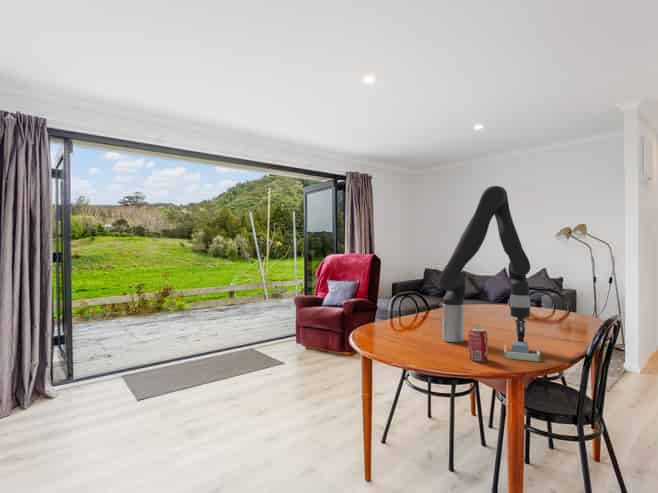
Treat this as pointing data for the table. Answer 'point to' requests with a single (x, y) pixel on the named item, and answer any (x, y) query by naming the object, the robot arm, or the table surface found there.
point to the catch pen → (522, 355)
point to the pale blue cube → (520, 347)
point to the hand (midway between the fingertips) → (520, 345)
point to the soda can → (478, 344)
